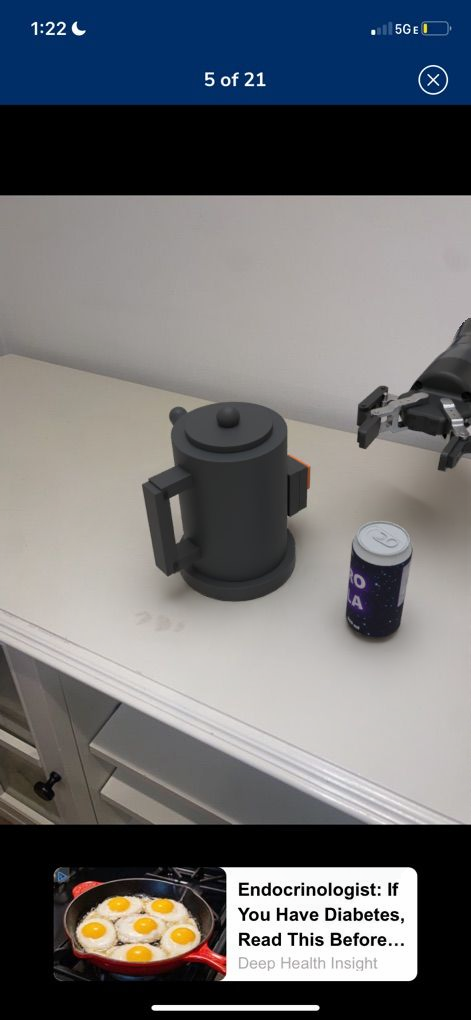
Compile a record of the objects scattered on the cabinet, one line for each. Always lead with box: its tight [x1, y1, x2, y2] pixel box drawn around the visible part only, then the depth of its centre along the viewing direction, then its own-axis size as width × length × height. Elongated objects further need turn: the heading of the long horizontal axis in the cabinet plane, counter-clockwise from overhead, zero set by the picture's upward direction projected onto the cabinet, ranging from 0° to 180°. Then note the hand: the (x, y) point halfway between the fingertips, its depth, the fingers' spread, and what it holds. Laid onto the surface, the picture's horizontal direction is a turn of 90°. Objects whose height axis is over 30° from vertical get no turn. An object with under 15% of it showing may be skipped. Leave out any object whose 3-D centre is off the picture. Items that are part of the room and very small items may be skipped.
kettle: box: [141, 401, 308, 602], centre depth 69 cm, size 19×18×21 cm
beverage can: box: [345, 520, 414, 639], centre depth 62 cm, size 6×6×12 cm
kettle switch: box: [288, 454, 311, 490], centre depth 74 cm, size 1×4×3 cm, turn 39°
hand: (401, 452), depth 63 cm, fingers open, 8 cm apart
